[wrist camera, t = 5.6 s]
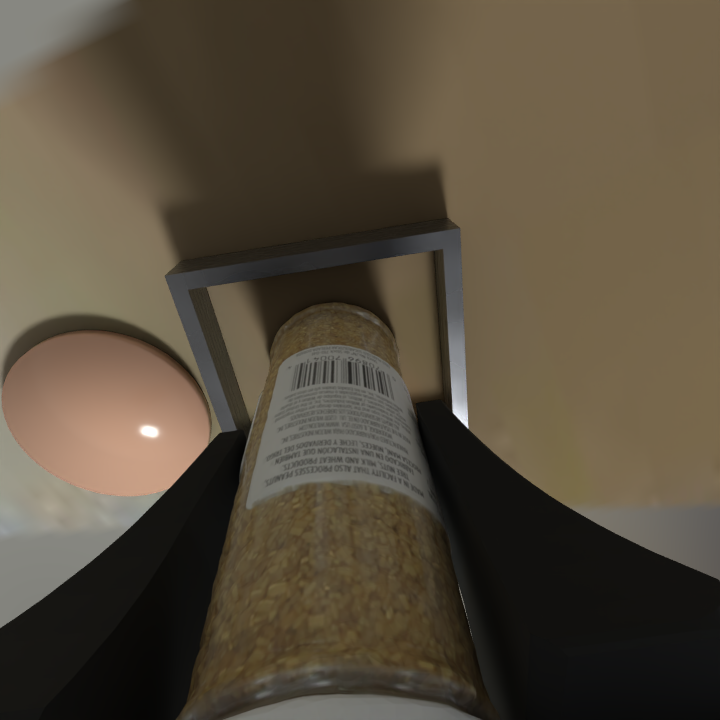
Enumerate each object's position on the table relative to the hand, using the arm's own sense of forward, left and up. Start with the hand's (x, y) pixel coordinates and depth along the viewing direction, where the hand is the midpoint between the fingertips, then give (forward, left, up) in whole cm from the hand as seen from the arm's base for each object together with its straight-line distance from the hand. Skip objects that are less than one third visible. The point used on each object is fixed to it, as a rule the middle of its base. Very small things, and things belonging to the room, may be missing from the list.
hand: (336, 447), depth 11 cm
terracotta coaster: (+8, +1, -5) cm, 10 cm away
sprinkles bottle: (0, 0, -5) cm, 5 cm away
